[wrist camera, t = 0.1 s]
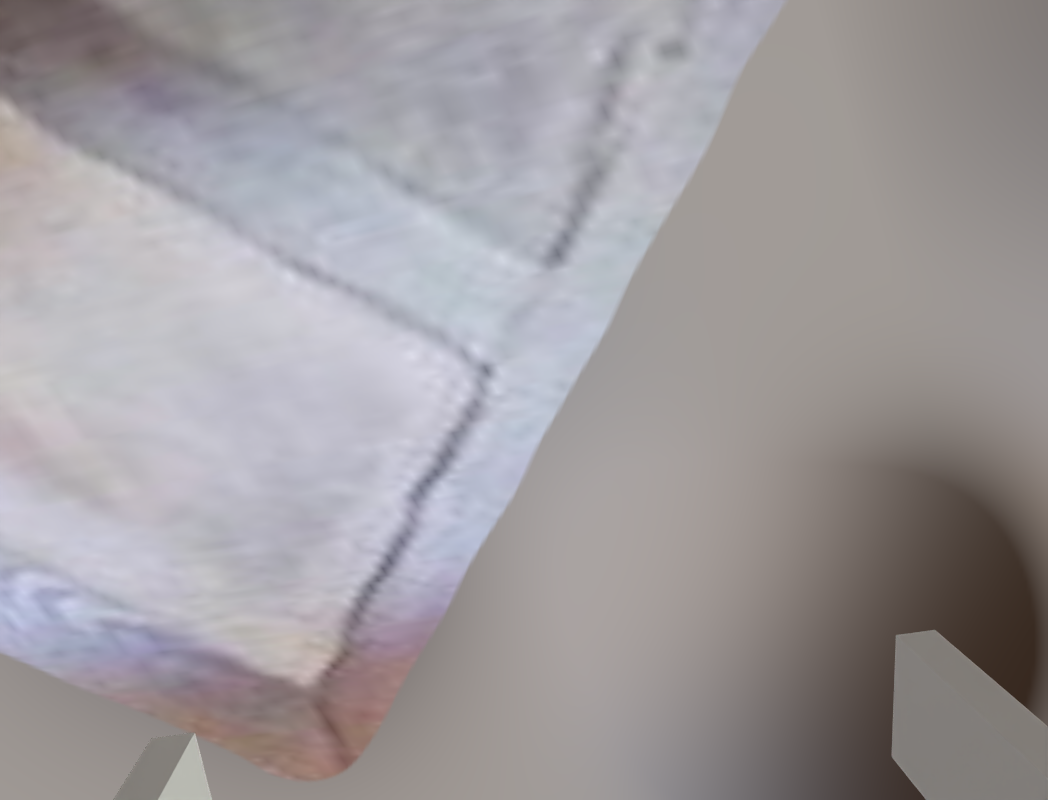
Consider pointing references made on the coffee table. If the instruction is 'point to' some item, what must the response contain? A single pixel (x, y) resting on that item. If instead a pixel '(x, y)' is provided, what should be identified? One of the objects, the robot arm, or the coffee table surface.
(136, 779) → the robot arm
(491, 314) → the coffee table surface
